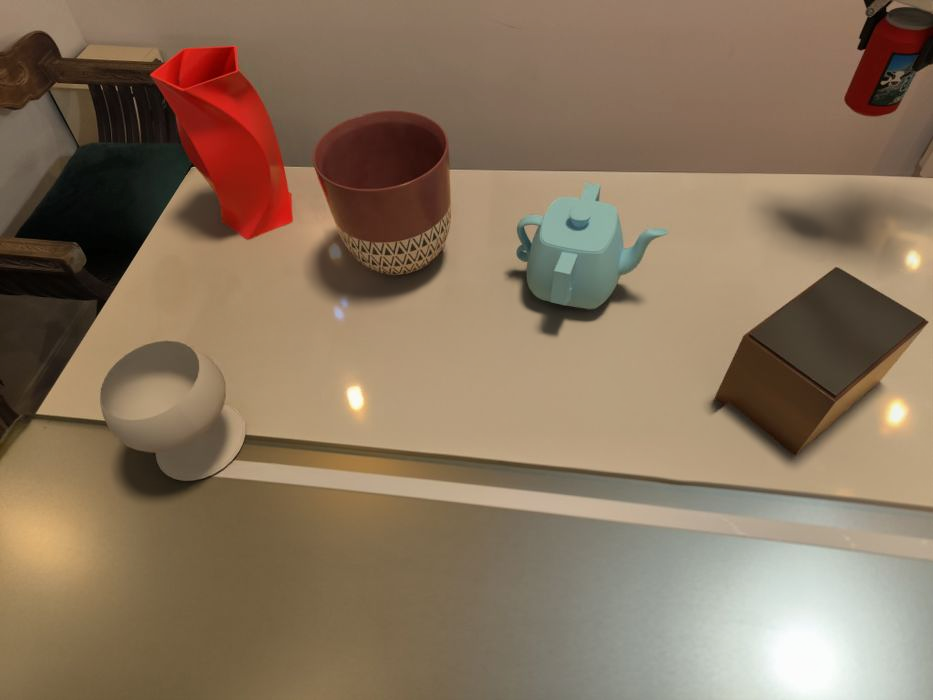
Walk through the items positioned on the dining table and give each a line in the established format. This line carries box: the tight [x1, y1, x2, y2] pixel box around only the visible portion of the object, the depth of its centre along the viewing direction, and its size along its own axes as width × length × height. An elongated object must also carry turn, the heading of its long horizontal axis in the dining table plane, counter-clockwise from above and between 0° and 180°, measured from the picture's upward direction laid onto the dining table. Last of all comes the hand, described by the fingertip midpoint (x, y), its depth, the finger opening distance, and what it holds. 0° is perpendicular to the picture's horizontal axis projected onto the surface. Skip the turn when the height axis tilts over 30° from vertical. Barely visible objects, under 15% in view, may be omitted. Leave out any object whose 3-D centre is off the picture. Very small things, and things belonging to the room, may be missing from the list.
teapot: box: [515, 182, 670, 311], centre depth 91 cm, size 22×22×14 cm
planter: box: [312, 110, 452, 276], centre depth 95 cm, size 20×20×21 cm
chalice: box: [99, 340, 247, 482], centre depth 77 cm, size 14×14×15 cm
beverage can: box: [844, 6, 933, 118], centre depth 79 cm, size 7×7×12 cm
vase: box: [149, 45, 294, 240], centre depth 102 cm, size 15×14×28 cm
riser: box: [714, 266, 930, 457], centre depth 77 cm, size 18×12×14 cm, turn 126°
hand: (893, 55), depth 78 cm, fingers closed on beverage can, 6 cm apart
